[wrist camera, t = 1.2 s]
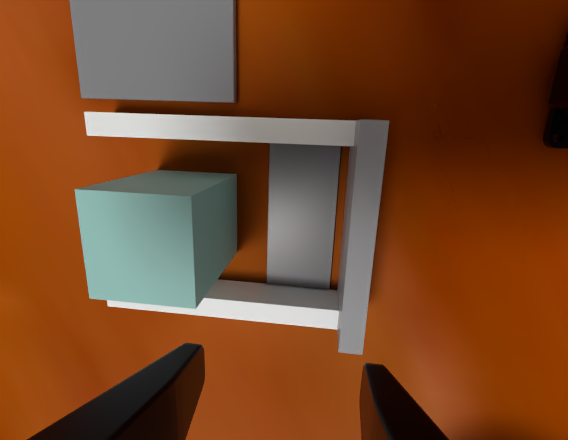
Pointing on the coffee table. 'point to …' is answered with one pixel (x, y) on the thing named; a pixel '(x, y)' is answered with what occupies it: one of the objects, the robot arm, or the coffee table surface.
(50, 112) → the coffee table surface
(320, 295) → the channel
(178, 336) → the coffee table surface
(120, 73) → the coaster
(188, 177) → the block
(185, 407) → the robot arm
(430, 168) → the coffee table surface
